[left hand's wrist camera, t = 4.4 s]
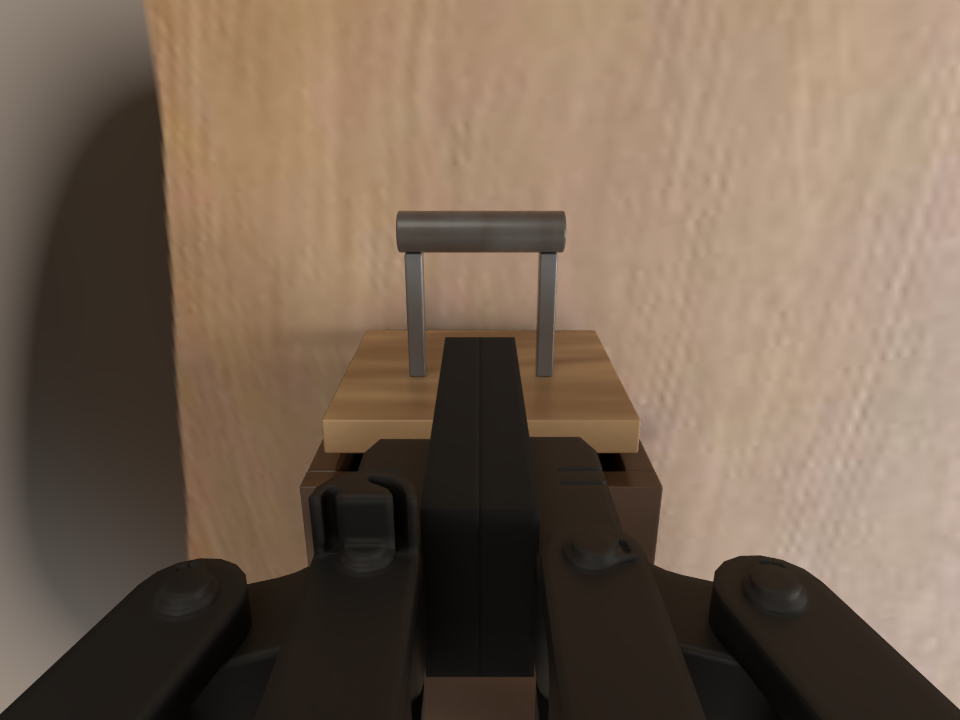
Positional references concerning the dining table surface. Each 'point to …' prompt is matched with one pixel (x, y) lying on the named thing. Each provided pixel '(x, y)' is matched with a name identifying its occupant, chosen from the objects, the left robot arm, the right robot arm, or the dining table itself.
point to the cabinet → (511, 700)
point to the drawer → (541, 354)
